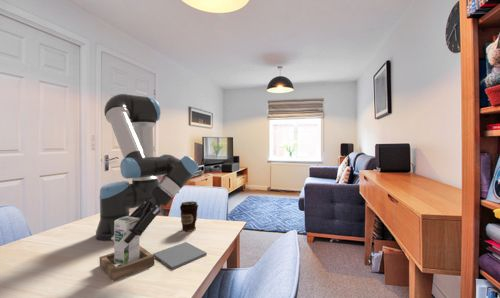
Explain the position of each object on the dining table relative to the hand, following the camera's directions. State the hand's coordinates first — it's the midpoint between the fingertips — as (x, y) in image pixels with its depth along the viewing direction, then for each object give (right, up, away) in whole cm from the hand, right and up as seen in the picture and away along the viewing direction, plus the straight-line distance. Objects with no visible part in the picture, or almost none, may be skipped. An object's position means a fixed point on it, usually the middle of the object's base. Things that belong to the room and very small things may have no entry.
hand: (115, 245), depth 79 cm
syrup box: (+3, -6, +2) cm, 7 cm away
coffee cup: (+15, -7, +35) cm, 39 cm away
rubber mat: (+19, -7, +9) cm, 22 cm away
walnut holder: (+3, -8, +2) cm, 8 cm away
